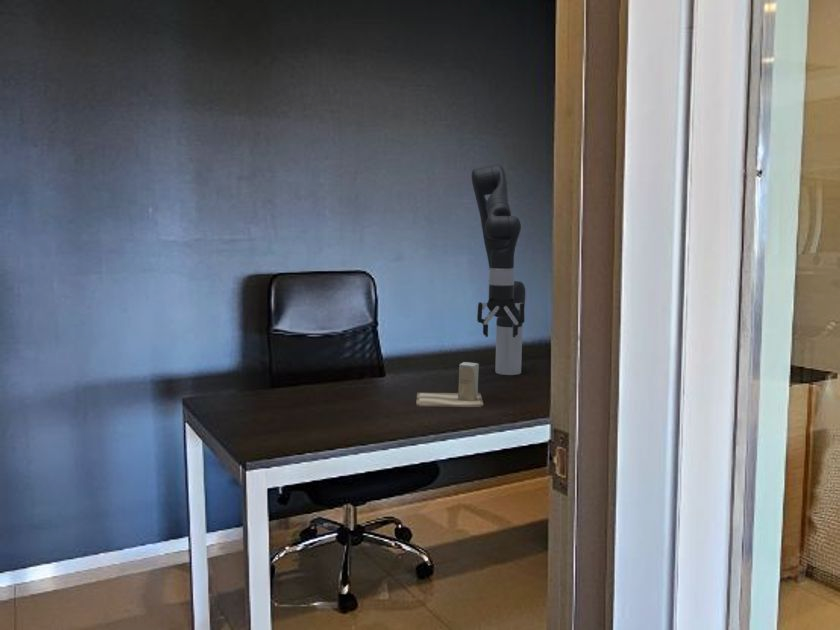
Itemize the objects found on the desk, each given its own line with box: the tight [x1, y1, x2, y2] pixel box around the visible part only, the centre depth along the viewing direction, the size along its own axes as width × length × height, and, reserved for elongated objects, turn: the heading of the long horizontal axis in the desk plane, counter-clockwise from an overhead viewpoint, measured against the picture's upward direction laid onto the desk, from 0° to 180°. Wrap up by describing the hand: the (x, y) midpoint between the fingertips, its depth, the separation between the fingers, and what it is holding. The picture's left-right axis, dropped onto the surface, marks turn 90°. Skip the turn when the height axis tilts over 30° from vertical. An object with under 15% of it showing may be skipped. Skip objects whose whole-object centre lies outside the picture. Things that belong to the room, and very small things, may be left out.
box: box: [457, 361, 480, 401], centre depth 225 cm, size 5×4×11 cm
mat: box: [415, 392, 484, 408], centre depth 226 cm, size 14×20×1 cm
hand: (500, 336), depth 223 cm, fingers open, 8 cm apart
